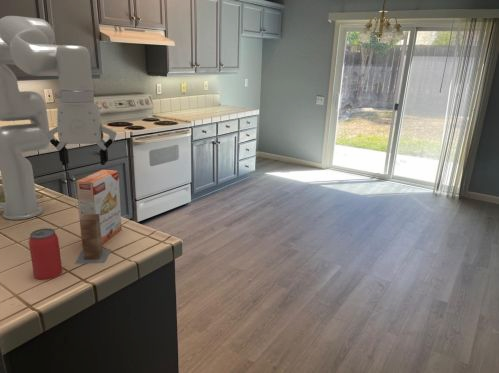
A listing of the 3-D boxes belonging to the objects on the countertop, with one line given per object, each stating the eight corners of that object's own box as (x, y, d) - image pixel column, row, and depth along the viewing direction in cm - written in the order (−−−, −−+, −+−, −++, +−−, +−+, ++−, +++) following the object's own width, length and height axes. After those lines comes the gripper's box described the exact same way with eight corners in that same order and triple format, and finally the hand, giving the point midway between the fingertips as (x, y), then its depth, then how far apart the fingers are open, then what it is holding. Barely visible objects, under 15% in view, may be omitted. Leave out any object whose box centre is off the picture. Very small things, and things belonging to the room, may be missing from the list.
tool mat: (74, 265, 104) (74, 263, 104) (83, 251, 112) (82, 249, 112) (105, 264, 105) (104, 262, 105) (111, 251, 113) (111, 249, 113)
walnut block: (84, 259, 106) (79, 219, 103) (88, 253, 110) (84, 214, 106) (99, 259, 107) (95, 219, 103) (102, 252, 110) (99, 214, 107)
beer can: (40, 268, 102) (34, 227, 99) (66, 268, 103) (61, 227, 99) (29, 281, 96) (22, 238, 92) (56, 281, 97) (50, 238, 93)
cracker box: (99, 249, 113) (93, 182, 107) (81, 247, 114) (74, 180, 108) (123, 231, 126) (119, 170, 120) (107, 228, 127) (101, 168, 121)
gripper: (34, 98, 91) (44, 167, 96) (109, 99, 93) (115, 167, 98) (47, 96, 98) (55, 161, 103) (116, 97, 100) (121, 160, 105)
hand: (84, 164), depth 101 cm, fingers open, 9 cm apart
